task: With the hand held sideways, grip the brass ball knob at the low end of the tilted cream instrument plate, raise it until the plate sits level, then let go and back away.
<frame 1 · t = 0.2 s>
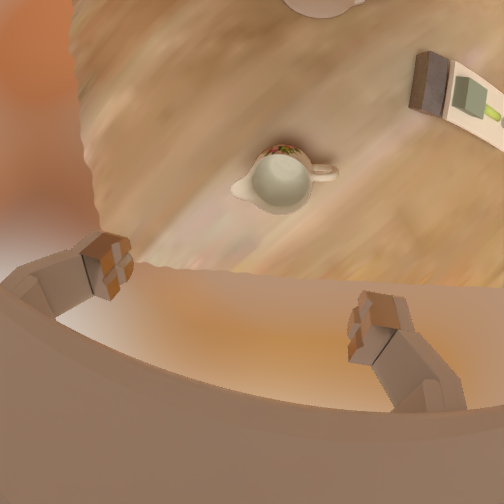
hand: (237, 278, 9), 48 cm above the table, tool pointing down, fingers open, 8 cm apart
pitcher: (291, 165, 53), on the table
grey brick: (421, 84, 38), on the table
instrument plate: (503, 115, 26), point 12 cm above the table, hinge at 10.0°
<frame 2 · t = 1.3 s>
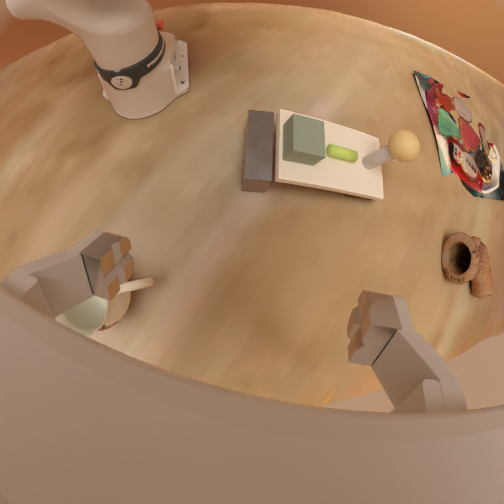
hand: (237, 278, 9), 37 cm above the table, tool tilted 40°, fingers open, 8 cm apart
pitcher: (116, 289, 44), on the table
colourful flat sheet: (467, 139, 54), on the table
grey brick: (254, 159, 47), on the table
instrument plate: (354, 143, 36), point 12 cm above the table, hinge at 10.0°
clay pipe: (458, 267, 51), on the table
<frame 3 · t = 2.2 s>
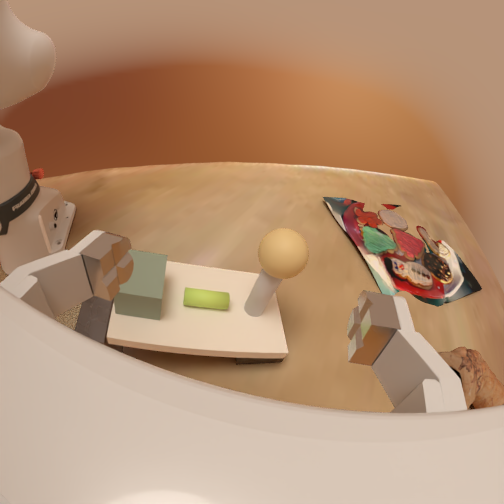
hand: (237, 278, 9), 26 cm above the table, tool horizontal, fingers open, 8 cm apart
colourful flat sheet: (407, 249, 59), on the table
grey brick: (112, 327, 34), on the table
instrument plate: (209, 273, 28), point 12 cm above the table, hinge at 10.0°
clay pipe: (448, 400, 30), on the table
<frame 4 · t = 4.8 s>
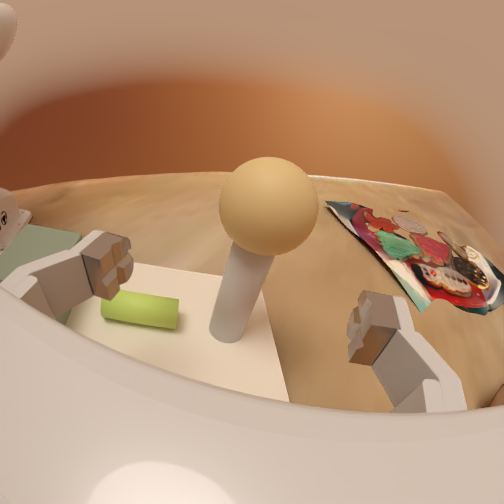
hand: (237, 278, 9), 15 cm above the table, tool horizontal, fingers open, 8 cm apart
colourful flat sheet: (432, 255, 45), on the table
instrument plate: (133, 254, 14), point 12 cm above the table, hinge at 10.0°
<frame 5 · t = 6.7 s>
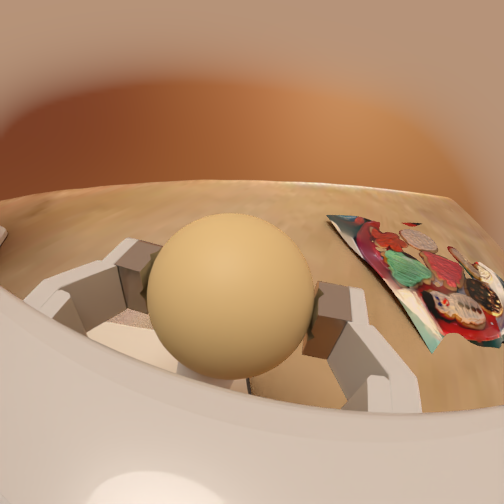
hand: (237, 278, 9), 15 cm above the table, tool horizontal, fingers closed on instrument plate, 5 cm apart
colourful flat sheet: (444, 276, 39), on the table
instrument plate: (57, 343, 9), point 12 cm above the table, hinge at 10.0°, touching gripper
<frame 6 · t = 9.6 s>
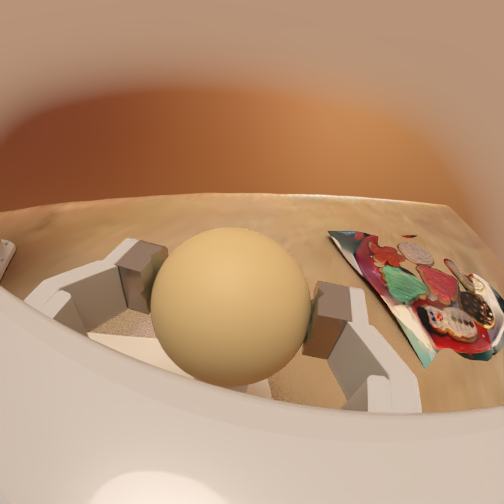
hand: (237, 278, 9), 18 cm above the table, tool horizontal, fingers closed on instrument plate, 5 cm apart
colourful flat sheet: (439, 290, 42), on the table
instrument plate: (79, 365, 10), point 13 cm above the table, hinge at 1.4°, touching gripper
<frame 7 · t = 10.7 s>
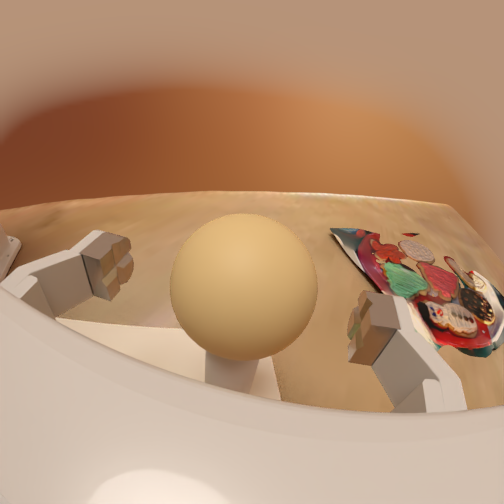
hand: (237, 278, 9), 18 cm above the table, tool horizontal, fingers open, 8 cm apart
colourful flat sheet: (439, 286, 42), on the table
instrument plate: (93, 349, 10), point 13 cm above the table, hinge at 1.5°
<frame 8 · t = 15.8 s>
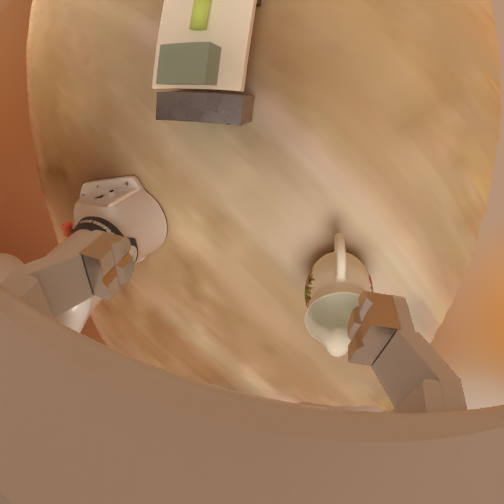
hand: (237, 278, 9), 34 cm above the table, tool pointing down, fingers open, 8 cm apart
pitcher: (337, 262, 47), on the table
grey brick: (214, 104, 37), on the table
instrument plate: (184, 5, 19), point 13 cm above the table, hinge at 1.5°
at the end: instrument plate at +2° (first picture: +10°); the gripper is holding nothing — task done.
